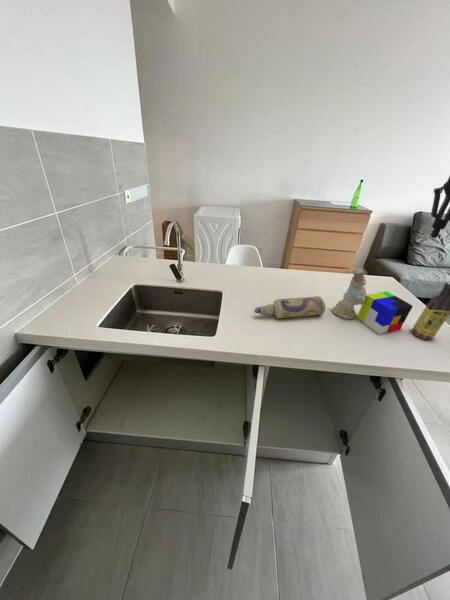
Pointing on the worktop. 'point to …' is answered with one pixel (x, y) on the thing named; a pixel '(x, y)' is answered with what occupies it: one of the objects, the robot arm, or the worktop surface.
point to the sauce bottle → (433, 314)
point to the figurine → (352, 296)
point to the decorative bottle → (294, 307)
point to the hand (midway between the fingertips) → (433, 236)
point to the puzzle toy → (384, 312)
